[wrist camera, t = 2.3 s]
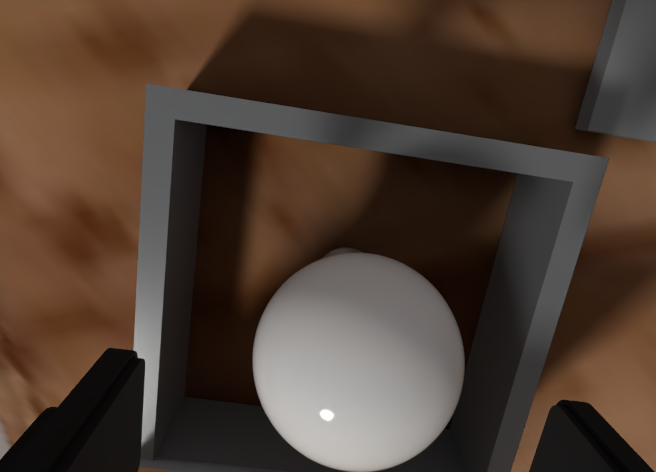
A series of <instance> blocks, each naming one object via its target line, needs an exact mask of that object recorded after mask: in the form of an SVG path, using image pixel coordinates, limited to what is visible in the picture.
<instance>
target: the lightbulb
mask: <svg viewBox="0 0 656 472" xmlns="http://www.w3.org/2000/svg"><path fill="white" fill-rule="evenodd" d="M252 365H253V376H254V382H255V387H256V390H257V394H258V397H259V400H260V402H261V405H262V407H263V409H264V411H265V413H266V415H267V417H268V419H269V420H270V422H271V423H272V425H273V426H274V428H275V429H276V430H277V432H278V433H279V434H280V435H281V436H282V437H283V439H284V440H285V441H286V442H287V443H288V444H290V445H291V446H292V447H293V448H294V449H295V450H297V451H298V452H299V453H301V454H302V455H304V456H305V457H307V458H309V459H311V460H313V461H314V462H317V463H319V464H321V465H324V466H327V467H330V468H333V469H337V470H342V471H348V472H373V471H379V470H384V469H388V468H391V467H394V466H397V465H399V464H402V463H404V462H406V461H408V460H410V459H412V458H413V457H415V456H416V455H418V454H419V453H421V452H422V451H424V450H425V449H426V448H427V447H428V446H429V445H431V444H432V443H433V442H434V441H435V440H436V438H437V437H438V436H439V435H440V434H441V433H442V431H443V430H444V429H445V427H446V426H447V424H448V423H449V421H450V419H451V417H452V416H453V413H454V411H455V409H456V407H457V404H458V402H459V399H460V395H461V391H462V387H463V382H464V373H465V356H464V347H463V342H462V337H461V334H460V330H459V327H458V324H457V322H456V319H455V317H454V315H453V313H452V311H451V309H450V307H449V306H448V304H447V302H446V301H445V299H444V298H443V297H442V295H441V294H440V293H439V291H438V290H437V289H436V288H435V287H434V286H433V285H432V284H431V283H430V282H429V281H428V280H427V279H426V278H425V277H423V276H422V275H421V274H420V273H418V272H417V271H415V270H414V269H412V268H411V267H409V266H407V265H405V264H403V263H401V262H399V261H397V260H394V259H392V258H389V257H385V256H382V255H377V254H371V253H362V252H361V251H359V250H357V249H354V248H349V247H342V248H337V249H334V250H332V251H330V252H328V253H327V254H326V255H325V256H324V257H323V258H322V259H319V260H317V261H315V262H313V263H311V264H309V265H307V266H305V267H303V268H302V269H300V270H299V271H297V272H296V273H295V274H293V275H292V276H291V277H290V278H289V279H288V280H286V281H285V282H284V283H283V284H282V285H281V287H280V288H279V289H278V290H277V291H276V293H275V294H274V295H273V297H272V298H271V300H270V301H269V303H268V304H267V306H266V308H265V310H264V312H263V314H262V316H261V319H260V321H259V324H258V327H257V330H256V334H255V339H254V345H253V356H252Z"/></svg>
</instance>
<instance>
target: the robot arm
mask: <svg viewBox="0 0 656 472" xmlns="http://www.w3.org/2000/svg"><path fill="white" fill-rule="evenodd" d="M144 382H145V359H142V358H138V355H137V352H136V351H133V350H124V349H115V348H108V349H107V350H106V351H105V352H104V353H103V354H102V356H101V357H100V358H99V359H98V360H97V361H96V363H95V364H94V365H93V366H92V367H91V369H90V370H89V371H88V372H87V373H86V375H85V376H84V377H83V378H82V379H81V380H80V382H79V383H78V384H77V385H76V386H75V388H74V389H73V390H72V391H71V392H70V394H69V395H68V396H67V397H66V398H65V399H64V401H63V402H62V403H61V404H60V405H59V407H50V408H47V409H46V410H45V411H43V412H42V413H41V414H40V415H39V416H38V418H37V419H36V420H35V421H34V422H33V423H32V424H31V426H30V427H29V428H28V429H27V430H26V431H25V432H24V433H23V435H22V436H21V437H20V438H19V439H18V440H17V441H16V443H15V444H14V445H13V446H12V447H11V448H10V449H9V451H8V452H7V453H6V454H5V455H4V456H3V458H2V459H1V460H0V472H138V470H139V465H140V458H141V439H142V420H143V401H144ZM529 472H654V471H653V470H652V469H651V468H650V467H649V465H648V464H647V463H646V462H645V461H644V460H643V459H642V458H641V457H640V456H639V455H638V454H637V453H636V452H635V451H634V450H633V449H632V448H631V447H630V445H629V444H628V443H627V442H626V441H625V440H624V439H623V438H622V437H621V436H620V435H619V434H618V433H617V432H616V431H615V430H614V429H613V428H612V427H611V425H610V424H609V423H608V422H607V421H606V420H605V419H604V418H603V417H602V416H601V415H600V414H599V413H598V412H597V411H596V410H595V409H594V408H593V407H592V406H591V405H590V404H589V403H586V402H578V401H569V400H561V401H559V402H558V403H557V405H555V406H552V407H551V409H550V411H549V414H548V417H547V420H546V423H545V426H544V429H543V432H542V435H541V438H540V441H539V444H538V447H537V450H536V453H535V456H534V459H533V462H532V465H531V468H530V471H529Z"/></svg>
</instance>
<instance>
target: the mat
mask: <svg viewBox="0 0 656 472" xmlns="http://www.w3.org/2000/svg"><path fill="white" fill-rule="evenodd" d="M575 129H576V130H582V131H588V132H594V133H600V134H606V135H612V136H618V137H625V138H631V139H637V140H643V141H649V142H655V143H656V0H612V3H611V6H610V10H609V13H608V16H607V20H606V23H605V27H604V30H603V34H602V37H601V41H600V44H599V47H598V51H597V54H596V58H595V61H594V65H593V68H592V72H591V75H590V78H589V82H588V85H587V89H586V92H585V96H584V99H583V103H582V106H581V109H580V113H579V116H578V120H577V123H576V127H575Z"/></svg>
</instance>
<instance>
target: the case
mask: <svg viewBox="0 0 656 472" xmlns="http://www.w3.org/2000/svg"><path fill="white" fill-rule="evenodd" d="M207 124H208V125H214V126H221V127H227V128H233V129H240V130H246V131H252V132H259V133H265V134H271V135H278V136H284V137H290V138H297V139H303V140H310V141H316V142H322V143H329V144H335V145H341V146H348V147H354V148H360V149H367V150H373V151H379V152H386V153H392V154H398V155H405V156H411V157H418V158H424V159H430V160H437V161H443V162H449V163H456V164H462V165H468V166H475V167H481V168H487V169H494V170H500V171H507V172H513V173H517V177H516V181H515V185H514V189H513V192H512V196H511V200H510V204H509V207H508V211H507V215H506V219H505V223H504V226H503V230H502V234H501V238H500V241H499V245H498V249H497V253H496V257H495V260H494V264H493V268H492V272H491V275H490V279H489V283H488V287H487V291H486V294H485V298H484V302H483V306H482V309H481V313H480V317H479V321H478V325H477V328H476V332H475V336H474V340H473V343H472V347H471V351H470V355H469V358H468V362H467V366H466V370H465V374H464V382H463V387H462V391H461V395H460V399H459V402H458V404H457V407H456V409H455V411H454V415H453V419H452V423H451V426H450V429H444V430H443V431H442V433H441V434H440V435H439V436H438V437H437V438H436V440H435V441H434V442H433V443H432V444H431V445H429V446H428V447H427V448H426V449H425V450H424V451H422V452H421V453H419V454H418V455H416V456H415V457H413V458H412V459H410V460H408V461H406V462H404V463H402V464H399V465H397V466H394V467H391V468H388V469H384V470H379V471H373V472H511V468H512V465H513V462H514V459H515V456H516V453H517V449H518V446H519V443H520V440H521V437H522V433H523V430H524V427H525V424H526V421H527V418H528V414H529V411H530V408H531V405H532V402H533V399H534V395H535V392H536V389H537V386H538V383H539V380H540V376H541V373H542V370H543V367H544V364H545V361H546V357H547V354H548V351H549V348H550V345H551V342H552V338H553V335H554V332H555V329H556V326H557V322H558V319H559V316H560V313H561V310H562V307H563V303H564V300H565V297H566V294H567V291H568V288H569V284H570V281H571V278H572V275H573V272H574V269H575V265H576V262H577V259H578V256H579V253H580V250H581V246H582V243H583V240H584V237H585V234H586V230H587V227H588V224H589V221H590V218H591V215H592V211H593V208H594V205H595V202H596V199H597V196H598V192H599V189H600V186H601V183H602V180H603V177H604V173H605V170H606V167H607V164H608V161H609V158H605V157H599V156H593V155H587V154H581V153H574V152H568V151H562V150H556V149H550V148H543V147H537V146H531V145H525V144H519V143H512V142H506V141H500V140H494V139H487V138H481V137H475V136H469V135H463V134H456V133H450V132H444V131H438V130H432V129H425V128H419V127H413V126H407V125H401V124H394V123H388V122H382V121H376V120H370V119H363V118H357V117H351V116H345V115H339V114H332V113H326V112H320V111H314V110H308V109H301V108H295V107H289V106H283V105H277V104H270V103H264V102H258V101H252V100H246V99H239V98H233V97H227V96H221V95H214V94H208V93H202V92H196V91H190V90H183V89H177V88H171V87H165V86H159V85H152V84H146V101H145V122H144V143H143V164H142V185H141V206H140V227H139V249H138V270H137V291H136V312H135V333H134V351H136V352H137V355H138V358H142V359H145V382H144V401H143V420H142V439H141V458H140V465H139V470H138V472H348V471H342V470H337V469H333V468H330V467H327V466H324V465H321V464H319V463H317V462H314V461H313V460H311V459H309V458H307V457H305V456H304V455H302V454H301V453H299V452H298V451H297V450H295V449H294V448H293V447H292V446H291V445H290V444H288V443H287V442H286V441H285V440H284V439H283V437H282V436H281V435H280V434H279V433H278V432H277V430H276V429H275V428H274V426H273V425H272V423H271V422H270V420H269V419H268V417H267V415H266V413H265V411H264V409H263V407H262V406H256V405H248V404H240V403H232V402H224V401H216V400H208V399H199V398H191V397H184V396H185V384H186V372H187V360H188V348H189V336H190V324H191V312H192V299H193V287H194V275H195V263H196V251H197V239H198V227H199V215H200V203H201V190H202V178H203V166H204V154H205V142H206V130H207Z"/></svg>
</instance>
